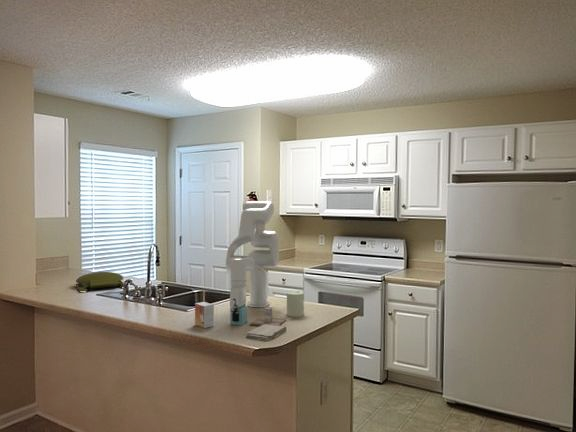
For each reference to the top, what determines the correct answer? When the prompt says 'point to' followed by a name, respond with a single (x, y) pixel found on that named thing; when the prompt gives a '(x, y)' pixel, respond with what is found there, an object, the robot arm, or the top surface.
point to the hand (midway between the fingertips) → (238, 319)
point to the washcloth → (265, 332)
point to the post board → (261, 322)
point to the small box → (204, 314)
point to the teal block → (240, 315)
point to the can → (295, 303)
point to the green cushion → (99, 280)
